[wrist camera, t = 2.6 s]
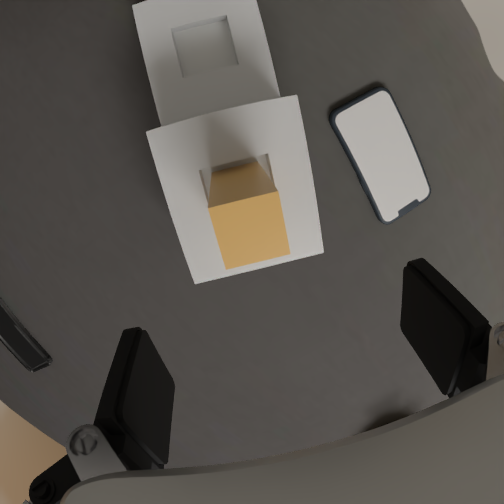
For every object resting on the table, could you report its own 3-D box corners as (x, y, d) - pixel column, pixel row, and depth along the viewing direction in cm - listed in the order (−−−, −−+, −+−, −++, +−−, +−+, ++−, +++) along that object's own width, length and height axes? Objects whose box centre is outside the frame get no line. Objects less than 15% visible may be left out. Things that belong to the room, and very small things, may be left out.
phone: (30, 373, 45) (-23, 312, 38) (33, 369, 46) (-20, 309, 39) (53, 363, 44) (-5, 296, 37) (55, 359, 45) (-1, 293, 38)
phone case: (322, 115, 33) (378, 224, 40) (326, 115, 32) (383, 229, 38) (380, 83, 32) (428, 192, 38) (387, 83, 30) (434, 195, 37)
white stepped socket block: (138, 12, 25) (111, -17, 16) (246, -14, 25) (257, -53, 16) (199, 239, 38) (194, 284, 29) (298, 215, 38) (323, 252, 29)
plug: (211, 172, 26) (207, 208, 18) (257, 161, 26) (278, 191, 17) (223, 215, 28) (225, 269, 19) (267, 204, 28) (290, 253, 19)
